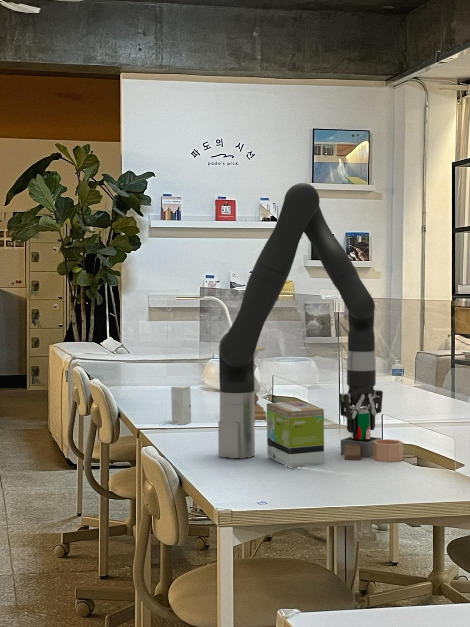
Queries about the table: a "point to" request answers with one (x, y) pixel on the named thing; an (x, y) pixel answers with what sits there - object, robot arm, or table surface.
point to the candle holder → (259, 410)
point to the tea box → (295, 433)
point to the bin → (365, 446)
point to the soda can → (362, 426)
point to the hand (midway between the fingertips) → (361, 430)
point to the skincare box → (181, 404)
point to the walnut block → (352, 452)
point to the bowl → (388, 450)
